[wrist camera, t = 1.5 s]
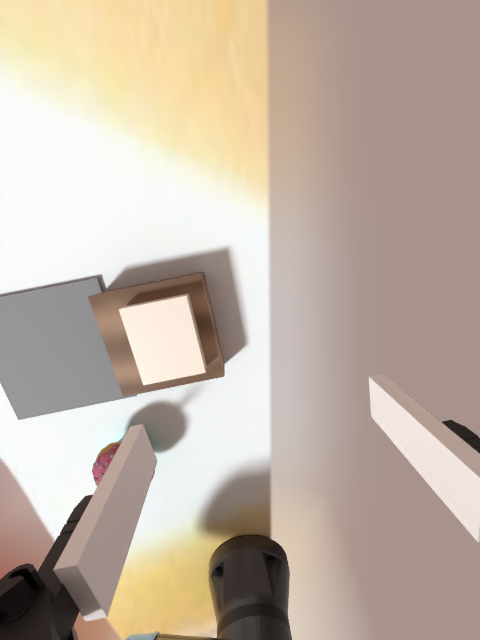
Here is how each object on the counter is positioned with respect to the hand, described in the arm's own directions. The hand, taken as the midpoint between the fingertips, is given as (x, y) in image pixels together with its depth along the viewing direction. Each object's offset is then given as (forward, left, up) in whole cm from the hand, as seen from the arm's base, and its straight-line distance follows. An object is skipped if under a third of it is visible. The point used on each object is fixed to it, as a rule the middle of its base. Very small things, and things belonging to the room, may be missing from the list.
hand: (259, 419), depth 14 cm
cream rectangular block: (+1, +9, -19) cm, 21 cm away
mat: (+1, +26, -23) cm, 35 cm away
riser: (+1, +10, -23) cm, 25 cm away
